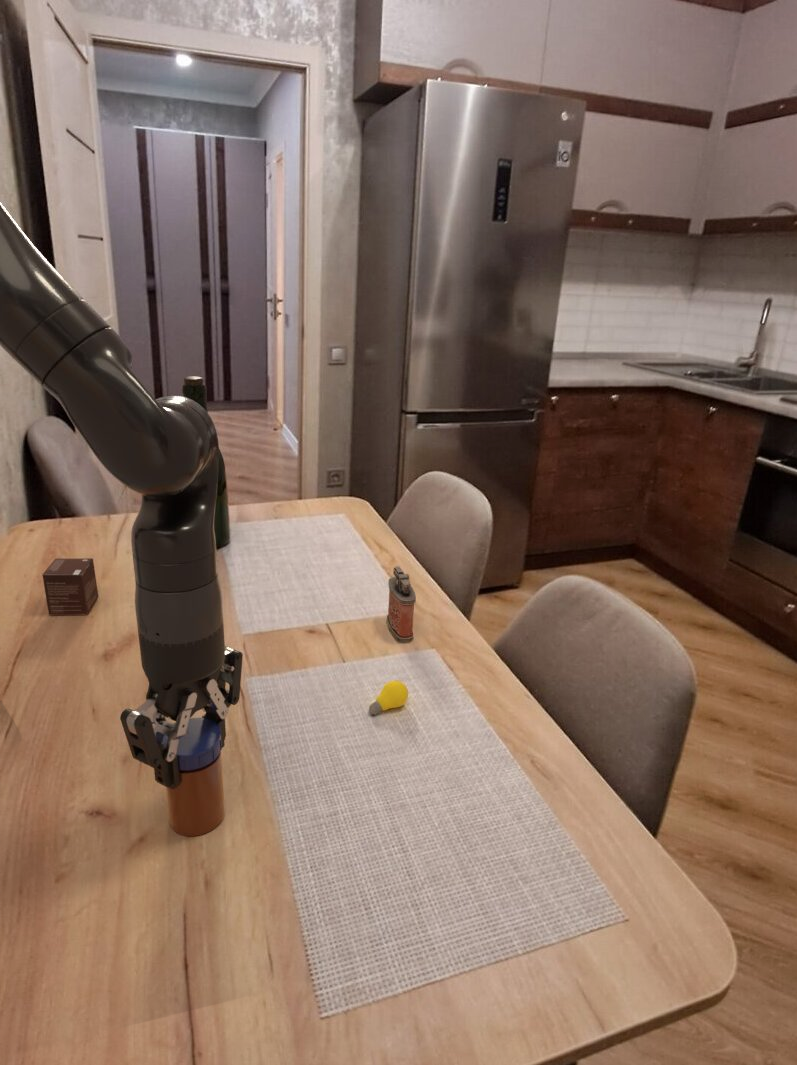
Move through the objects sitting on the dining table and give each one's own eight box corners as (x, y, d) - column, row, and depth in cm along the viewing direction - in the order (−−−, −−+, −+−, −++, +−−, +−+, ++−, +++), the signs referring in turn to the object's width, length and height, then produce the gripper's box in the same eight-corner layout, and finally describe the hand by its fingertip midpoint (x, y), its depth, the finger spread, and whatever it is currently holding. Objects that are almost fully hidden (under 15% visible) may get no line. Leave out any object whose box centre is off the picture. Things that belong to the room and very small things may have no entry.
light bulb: (412, 702, 89) (413, 688, 87) (377, 728, 87) (377, 714, 84) (396, 684, 91) (397, 670, 89) (362, 709, 89) (361, 696, 86)
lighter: (417, 641, 104) (421, 584, 100) (396, 644, 103) (399, 586, 99) (402, 616, 111) (405, 562, 107) (382, 618, 110) (385, 563, 106)
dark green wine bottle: (168, 539, 135) (153, 374, 123) (215, 528, 142) (205, 370, 129) (192, 556, 128) (179, 383, 116) (240, 544, 135) (233, 379, 122)
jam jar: (168, 841, 67) (160, 765, 63) (170, 800, 72) (162, 728, 68) (226, 830, 68) (221, 756, 65) (223, 791, 73) (219, 720, 70)
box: (61, 597, 111) (55, 557, 108) (99, 597, 112) (94, 557, 109) (48, 616, 105) (40, 574, 103) (87, 615, 106) (81, 574, 103)
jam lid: (223, 764, 65) (222, 749, 64) (161, 775, 63) (159, 760, 63) (219, 727, 70) (218, 713, 70) (161, 736, 69) (160, 722, 68)
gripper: (150, 669, 54) (167, 828, 60) (262, 598, 66) (267, 737, 72) (86, 643, 57) (108, 796, 63) (204, 580, 69) (213, 714, 75)
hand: (193, 764), depth 68 cm, fingers closed on jam lid, 5 cm apart
